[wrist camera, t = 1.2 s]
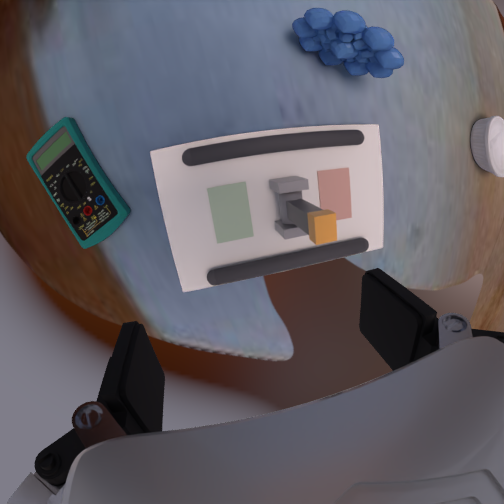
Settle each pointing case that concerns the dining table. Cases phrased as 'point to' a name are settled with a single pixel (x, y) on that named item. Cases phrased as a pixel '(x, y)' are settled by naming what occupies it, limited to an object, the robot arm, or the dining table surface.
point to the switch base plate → (265, 200)
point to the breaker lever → (308, 217)
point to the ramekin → (489, 144)
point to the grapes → (348, 42)
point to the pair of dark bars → (271, 146)
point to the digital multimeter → (77, 183)
